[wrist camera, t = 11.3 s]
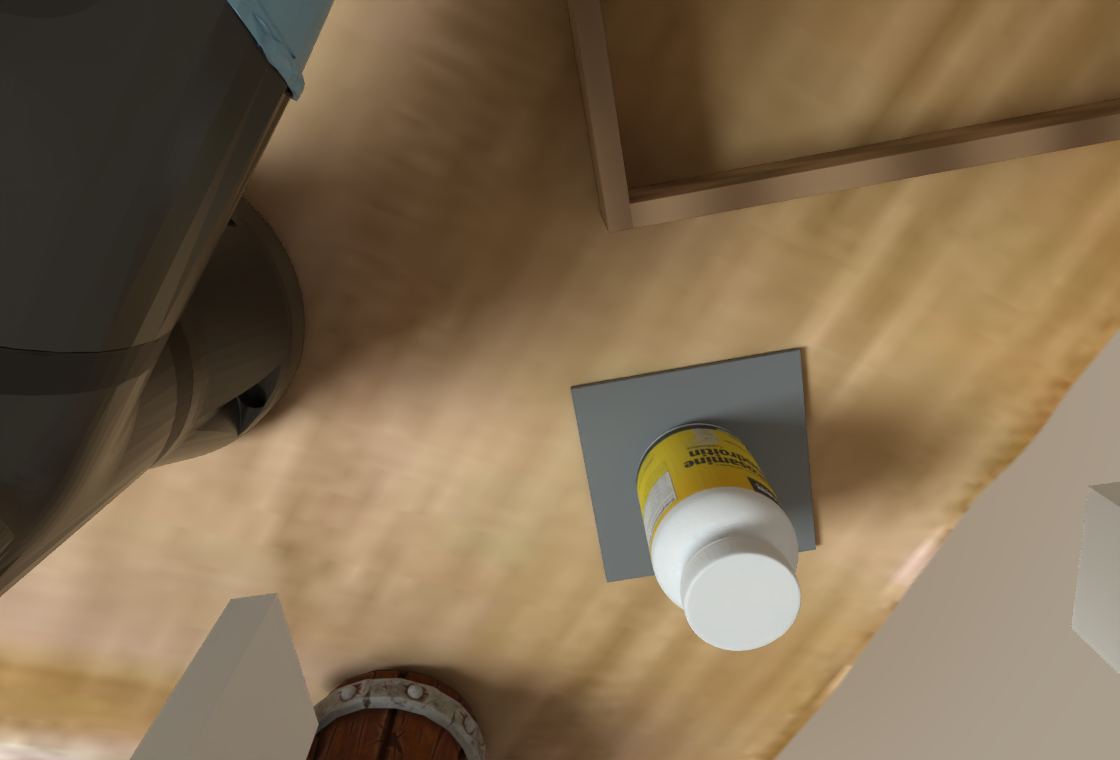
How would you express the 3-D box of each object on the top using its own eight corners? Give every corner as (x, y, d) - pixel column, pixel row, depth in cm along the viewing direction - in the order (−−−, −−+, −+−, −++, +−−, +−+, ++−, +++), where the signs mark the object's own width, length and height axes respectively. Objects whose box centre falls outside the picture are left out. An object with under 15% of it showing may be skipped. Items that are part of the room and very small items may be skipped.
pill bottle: (777, 470, 41) (860, 600, 30) (691, 546, 42) (740, 696, 31) (694, 394, 39) (749, 502, 28) (608, 476, 41) (629, 608, 30)
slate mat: (606, 578, 43) (607, 582, 43) (570, 386, 39) (571, 389, 39) (813, 545, 43) (815, 549, 42) (797, 347, 39) (800, 350, 38)
